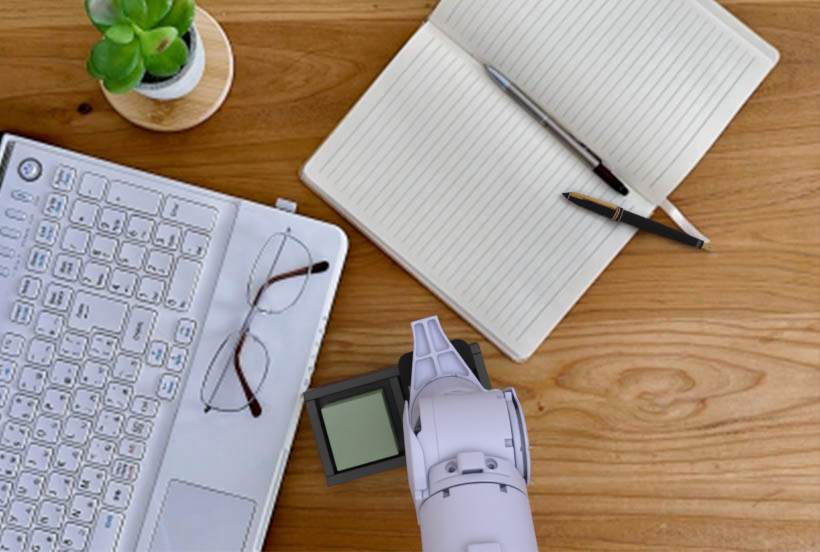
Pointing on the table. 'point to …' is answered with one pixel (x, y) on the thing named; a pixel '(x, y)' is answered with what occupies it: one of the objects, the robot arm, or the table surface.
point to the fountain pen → (634, 220)
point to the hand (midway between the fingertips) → (445, 403)
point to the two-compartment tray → (365, 421)
